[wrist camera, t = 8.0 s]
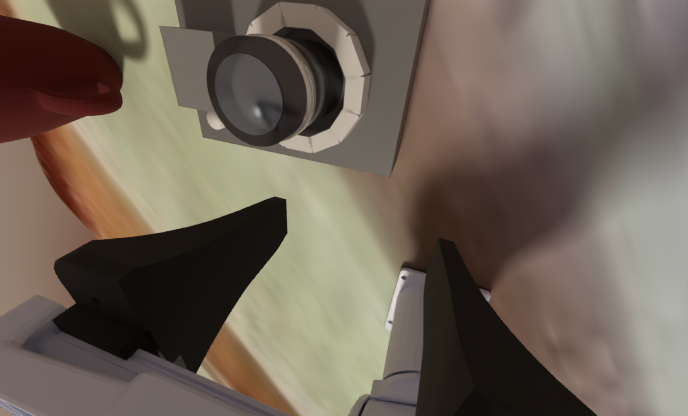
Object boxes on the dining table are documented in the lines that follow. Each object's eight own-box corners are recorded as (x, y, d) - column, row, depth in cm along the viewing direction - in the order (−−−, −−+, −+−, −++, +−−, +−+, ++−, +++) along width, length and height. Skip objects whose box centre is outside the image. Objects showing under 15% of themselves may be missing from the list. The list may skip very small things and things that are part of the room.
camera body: (396, 161, 20) (384, 190, 16) (227, 127, 23) (182, 144, 19) (431, -6, 15) (426, -25, 11) (205, -20, 18) (136, -40, 14)
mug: (151, 31, 21) (-33, 21, 13) (172, 130, 25) (45, 170, 17) (50, 8, 23) (-167, -13, 15) (86, 105, 27) (-65, 130, 19)
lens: (343, 124, 17) (300, 156, 12) (279, 116, 18) (214, 143, 13) (346, 38, 14) (292, 33, 9) (271, 36, 16) (188, 30, 11)
